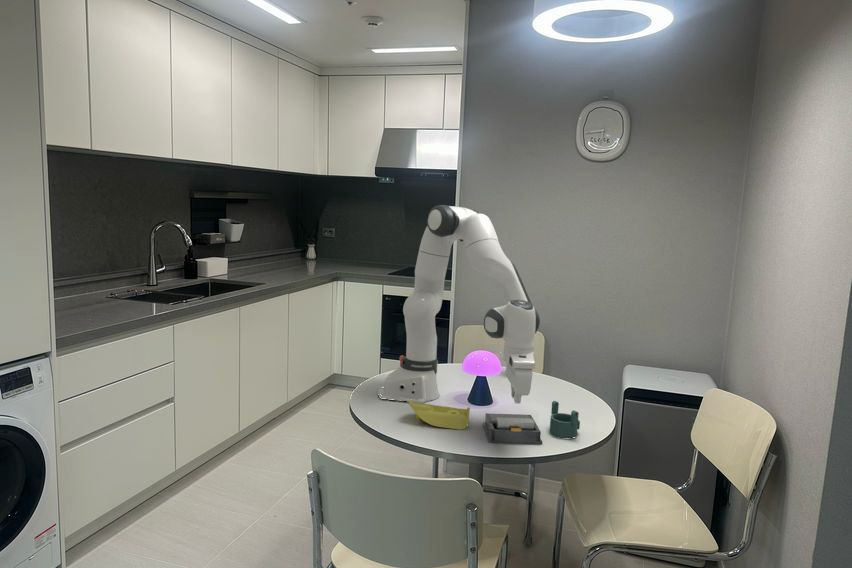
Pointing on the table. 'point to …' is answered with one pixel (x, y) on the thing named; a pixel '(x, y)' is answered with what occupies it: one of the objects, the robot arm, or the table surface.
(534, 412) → the table surface
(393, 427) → the table surface
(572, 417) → the bracket
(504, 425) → the gray metallic block
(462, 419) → the plastic component
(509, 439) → the grey flat box
